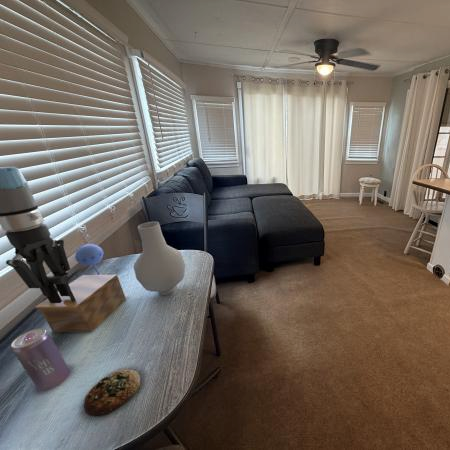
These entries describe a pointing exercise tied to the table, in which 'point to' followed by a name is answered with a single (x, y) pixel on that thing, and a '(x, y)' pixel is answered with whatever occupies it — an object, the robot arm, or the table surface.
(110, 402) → the bread roll
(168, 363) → the table surface
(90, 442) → the table surface
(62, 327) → the chest
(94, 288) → the chest lid
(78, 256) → the baby rattle
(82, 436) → the table surface
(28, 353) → the beverage can
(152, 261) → the vase
